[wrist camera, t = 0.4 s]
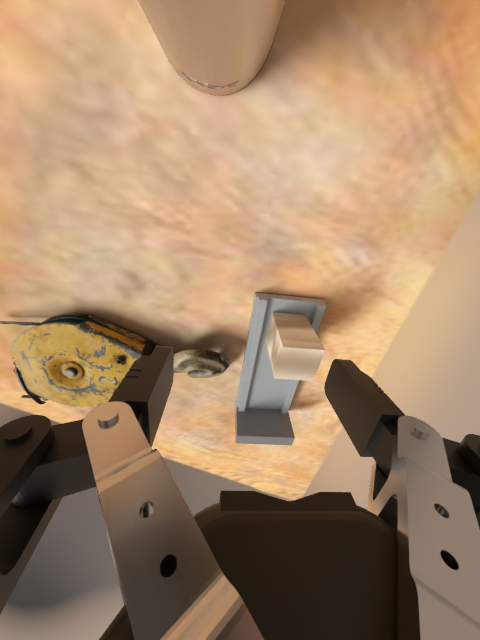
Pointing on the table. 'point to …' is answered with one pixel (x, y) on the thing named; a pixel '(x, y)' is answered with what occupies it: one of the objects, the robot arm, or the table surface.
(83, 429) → the robot arm
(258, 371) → the rail
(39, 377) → the pulley block
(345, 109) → the table surface
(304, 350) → the block
